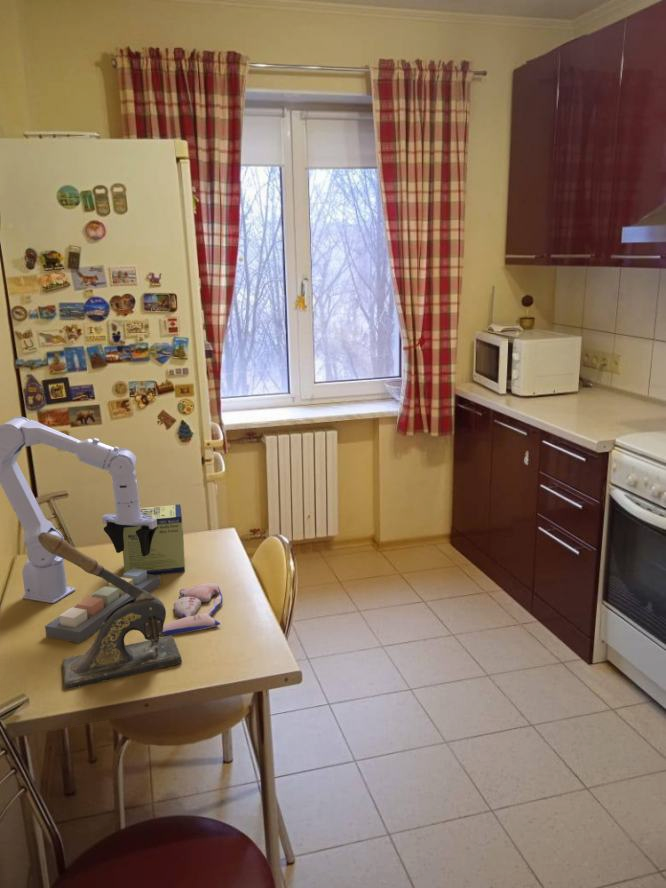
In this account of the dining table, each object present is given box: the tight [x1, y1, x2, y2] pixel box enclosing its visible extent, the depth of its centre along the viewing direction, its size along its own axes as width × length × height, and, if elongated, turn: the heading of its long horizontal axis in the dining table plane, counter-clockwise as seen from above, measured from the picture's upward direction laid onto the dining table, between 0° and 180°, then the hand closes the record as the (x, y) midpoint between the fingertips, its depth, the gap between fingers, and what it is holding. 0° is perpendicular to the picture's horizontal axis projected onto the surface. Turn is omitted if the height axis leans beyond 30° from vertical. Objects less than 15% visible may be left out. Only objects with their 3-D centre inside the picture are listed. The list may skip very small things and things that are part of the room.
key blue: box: [122, 568, 147, 585], centre depth 173 cm, size 4×4×3 cm
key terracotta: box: [76, 596, 104, 616], centre depth 157 cm, size 4×4×3 cm
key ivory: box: [58, 606, 88, 628], centre depth 152 cm, size 4×4×3 cm
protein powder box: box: [122, 504, 186, 576], centre depth 184 cm, size 10×16×16 cm
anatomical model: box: [162, 582, 223, 636], centre depth 161 cm, size 20×3×15 cm
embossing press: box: [38, 532, 183, 690], centre depth 136 cm, size 11×24×30 cm, turn 109°
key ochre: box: [108, 576, 133, 595], centre depth 168 cm, size 4×4×3 cm
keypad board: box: [44, 574, 161, 644], centre depth 163 cm, size 9×30×2 cm, turn 160°
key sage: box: [92, 586, 119, 605], centre depth 162 cm, size 4×4×3 cm
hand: (133, 553), depth 171 cm, fingers open, 7 cm apart
